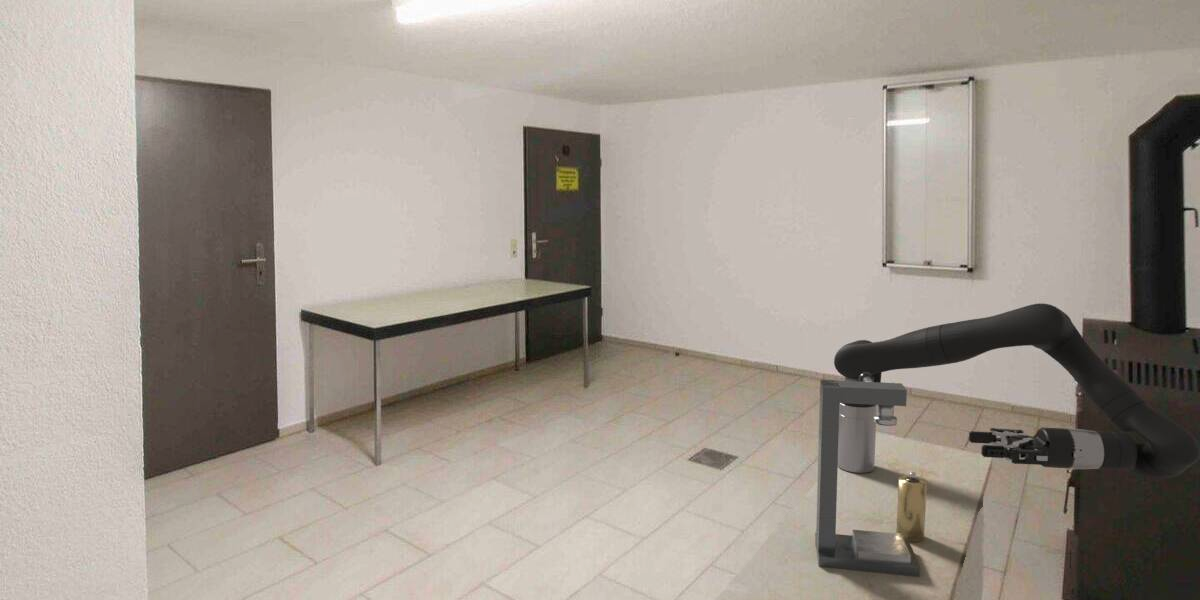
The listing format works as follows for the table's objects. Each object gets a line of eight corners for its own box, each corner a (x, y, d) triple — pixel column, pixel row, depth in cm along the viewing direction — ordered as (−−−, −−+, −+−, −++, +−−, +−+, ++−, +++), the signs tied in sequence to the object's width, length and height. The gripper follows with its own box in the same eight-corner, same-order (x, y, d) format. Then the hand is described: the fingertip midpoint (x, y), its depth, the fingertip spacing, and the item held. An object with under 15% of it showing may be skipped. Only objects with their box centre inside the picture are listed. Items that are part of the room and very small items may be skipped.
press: (900, 532, 142) (907, 371, 138) (919, 576, 125) (928, 394, 121) (812, 524, 146) (816, 368, 142) (818, 566, 129) (823, 389, 125)
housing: (890, 532, 142) (893, 469, 140) (911, 529, 143) (914, 466, 142) (908, 544, 137) (911, 479, 135) (929, 540, 138) (933, 475, 137)
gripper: (1054, 418, 138) (965, 414, 141) (1086, 441, 124) (987, 436, 128) (1052, 454, 138) (964, 450, 142) (1084, 481, 125) (985, 475, 128)
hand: (975, 443), depth 135 cm, fingers open, 8 cm apart
